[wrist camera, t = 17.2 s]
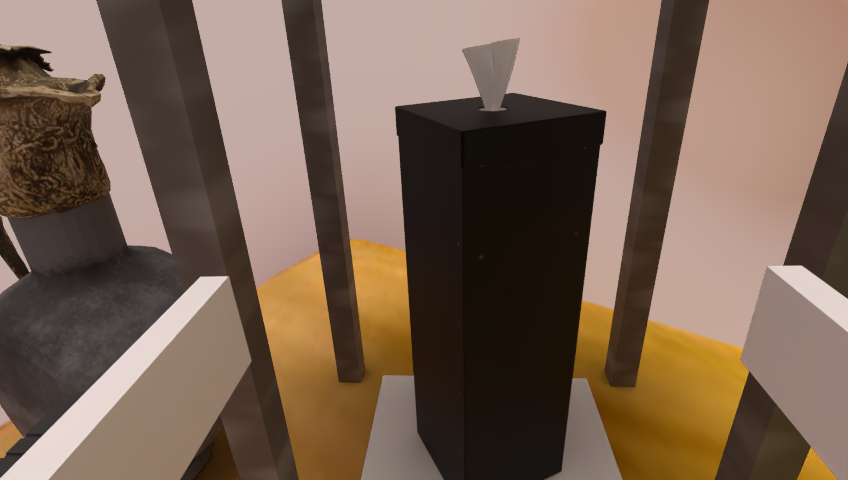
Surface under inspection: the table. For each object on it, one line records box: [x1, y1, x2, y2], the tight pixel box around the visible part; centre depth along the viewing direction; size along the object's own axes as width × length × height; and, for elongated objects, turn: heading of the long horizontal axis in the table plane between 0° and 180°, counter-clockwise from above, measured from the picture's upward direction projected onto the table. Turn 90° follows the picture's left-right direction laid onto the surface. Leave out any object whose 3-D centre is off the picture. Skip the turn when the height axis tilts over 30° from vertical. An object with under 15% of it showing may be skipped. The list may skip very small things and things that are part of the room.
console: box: [96, 0, 848, 480], centre depth 27 cm, size 26×20×38 cm
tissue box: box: [395, 38, 606, 480], centre depth 29 cm, size 8×8×28 cm
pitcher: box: [0, 45, 224, 480], centre depth 30 cm, size 11×19×30 cm, turn 64°
